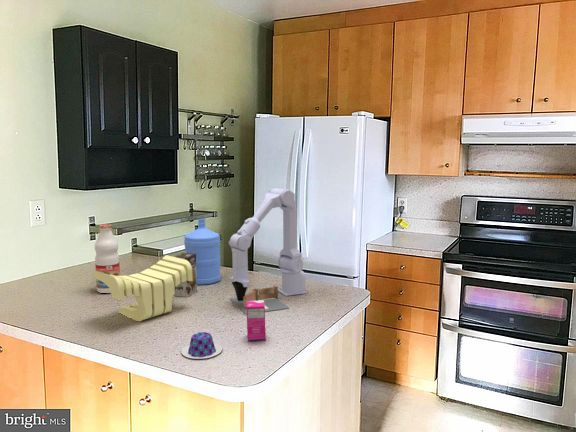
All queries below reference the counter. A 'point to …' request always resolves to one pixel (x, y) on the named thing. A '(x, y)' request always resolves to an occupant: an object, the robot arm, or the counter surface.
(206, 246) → the water jug
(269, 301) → the card
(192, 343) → the pudding
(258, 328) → the supplement box
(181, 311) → the counter surface
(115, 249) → the fruit juice
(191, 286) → the coffee box
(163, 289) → the slatted curved stool
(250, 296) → the swing panel
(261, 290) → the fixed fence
